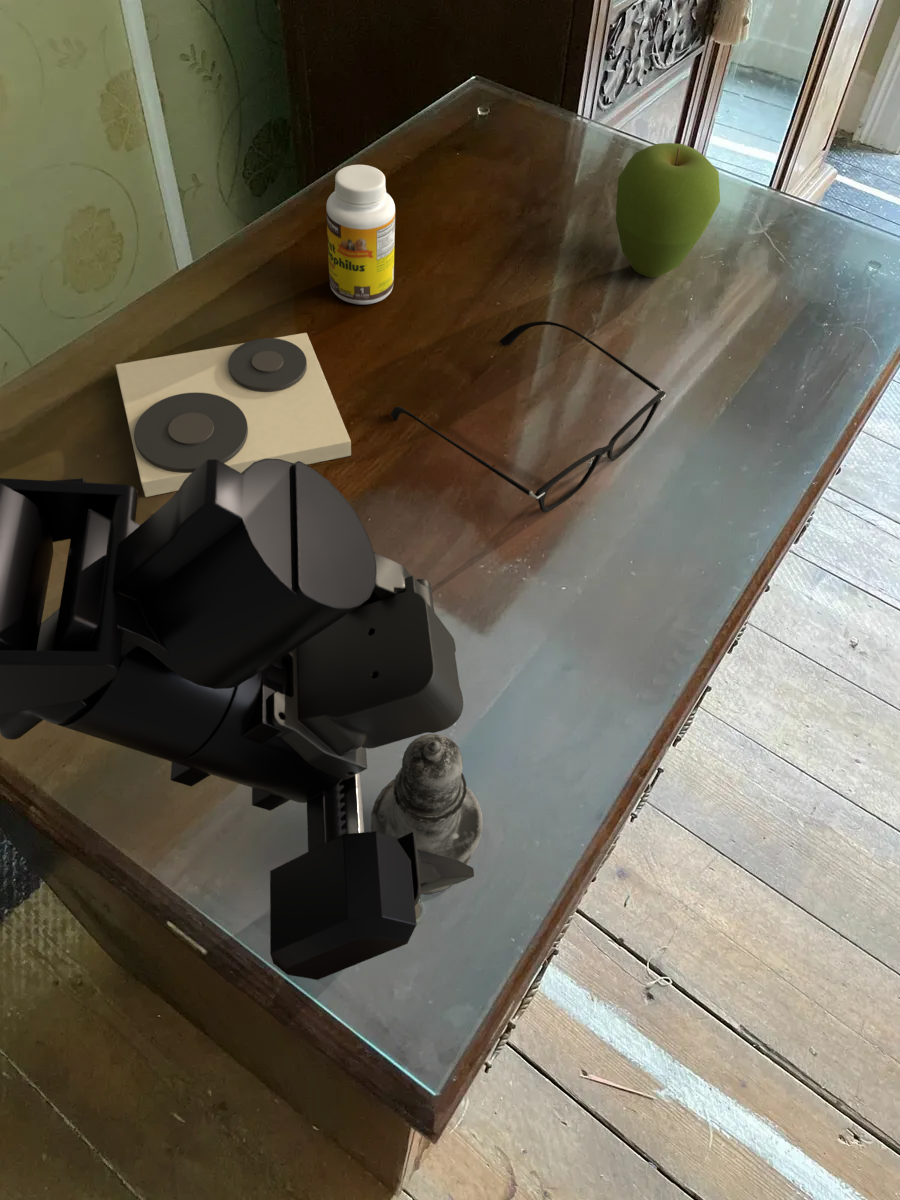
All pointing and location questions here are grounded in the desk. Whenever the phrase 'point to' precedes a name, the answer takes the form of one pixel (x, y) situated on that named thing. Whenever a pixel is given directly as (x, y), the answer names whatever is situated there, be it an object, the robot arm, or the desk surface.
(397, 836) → the pewter sugar caster
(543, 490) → the eyeglasses
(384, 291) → the supplement bottle
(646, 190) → the apple
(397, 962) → the desk surface
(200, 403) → the stove
